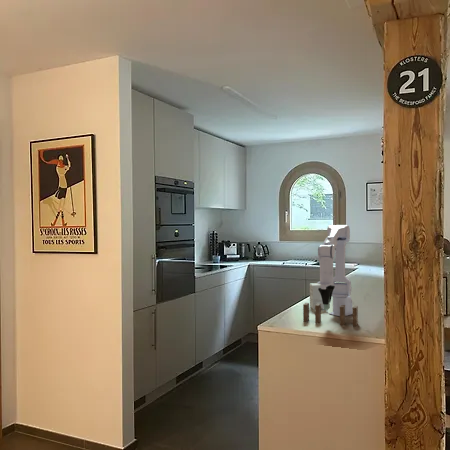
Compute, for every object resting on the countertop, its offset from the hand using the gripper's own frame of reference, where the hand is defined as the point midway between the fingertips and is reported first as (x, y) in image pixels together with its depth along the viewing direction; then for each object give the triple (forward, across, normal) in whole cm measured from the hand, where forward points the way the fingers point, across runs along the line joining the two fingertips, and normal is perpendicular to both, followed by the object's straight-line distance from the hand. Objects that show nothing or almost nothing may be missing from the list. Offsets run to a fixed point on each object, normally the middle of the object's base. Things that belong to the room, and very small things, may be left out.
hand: (326, 303), depth 204 cm
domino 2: (+10, -8, -6) cm, 14 cm away
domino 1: (+10, -8, -11) cm, 17 cm away
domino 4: (+10, -8, +6) cm, 14 cm away
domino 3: (+2, 0, 0) cm, 2 cm away
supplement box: (+11, -39, -12) cm, 42 cm away
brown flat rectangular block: (+10, -8, +11) cm, 17 cm away
